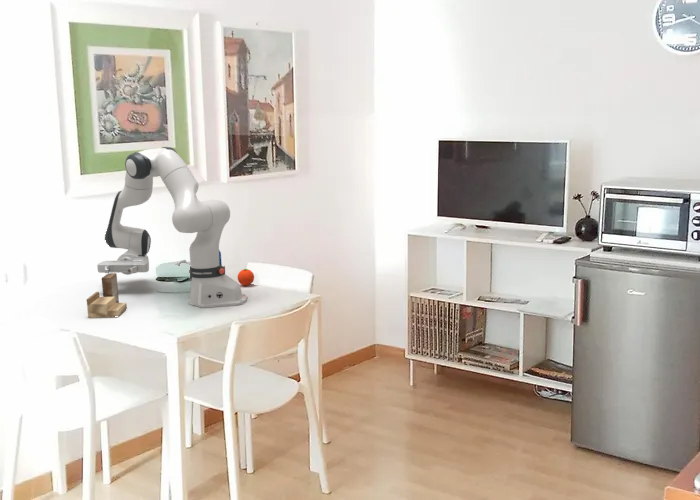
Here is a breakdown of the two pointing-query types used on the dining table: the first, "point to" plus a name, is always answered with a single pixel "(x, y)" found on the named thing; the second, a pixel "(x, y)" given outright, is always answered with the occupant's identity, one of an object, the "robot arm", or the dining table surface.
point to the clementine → (245, 277)
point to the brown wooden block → (110, 286)
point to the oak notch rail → (104, 306)
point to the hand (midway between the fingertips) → (118, 271)
